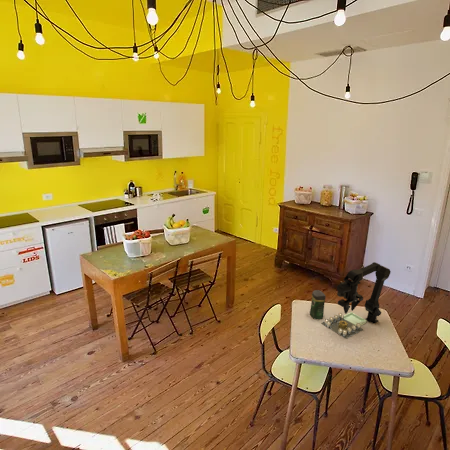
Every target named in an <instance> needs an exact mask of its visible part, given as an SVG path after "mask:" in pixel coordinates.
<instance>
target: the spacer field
mask: <svg viewBox="0 0 450 450" xmlns="http://www.w3.org/2000/svg"><path fill="white" fill-rule="evenodd" d="M340 321H345V322H346V323H348V326H347V328H344V329H343V328H341V327H340V326H338V325H339V322H340ZM320 324H321V325H323V326H324V327H326V328H327V329H329V330H331V331H332V332H334V333H336V334H338V335H339V336H340V337H342V338H343V339H345V340H347V339H349V338H352V337H354V336H355V335H358V334H359V333H361V332H362V331H364V329H362V328H361V326H360V323H357V324H356V325H354V324H352V323H351V322H349V321H347V320H345V319H344V318H343V313H342V312H339V313H338V314H333V316H330V317H329V319H328V318H325V319H324V321H323V322H321V323H320Z"/></svg>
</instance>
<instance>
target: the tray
mask: <svg viewBox="0 0 450 450" xmlns="http://www.w3.org/2000/svg"><path fill="white" fill-rule="evenodd" d="M342 318H344V319H345V320H347V321H349V322H351V323H352V324H354V325H356V324H357V323H360V327H361V326H363V325H364V324H367V322H368V321H367V320H365V319H366V318H364V317H362V316H360V315H358V314H356V313H354V312H352V311H351V312H347V314H344V315H342Z"/></svg>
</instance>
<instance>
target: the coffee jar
mask: <svg viewBox="0 0 450 450" xmlns="http://www.w3.org/2000/svg"><path fill="white" fill-rule="evenodd" d="M326 297H327V296H326V295H325V293H324V292H323V291H321V290H319V289H315V290H313V291H312V293H311V303H310V309H309V315H310V316H311V318H312V319H314V320H323V318H324V313H325V303H326Z"/></svg>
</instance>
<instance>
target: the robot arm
mask: <svg viewBox="0 0 450 450" xmlns="http://www.w3.org/2000/svg"><path fill="white" fill-rule="evenodd" d="M374 272H375V273H374ZM373 273H374V274H375V277H376V278H375V281H374V286H373V288H372V292H371V296H370V297H369V299H366V300H365V303H364V309H365V311H366V312H368V313H367V317H366V318H364V319H365V320H367V322H368V323H371V324H373V325H374V324H376V323H378V322H379V320H378V317H380V316H381V314H382V311H381V310H380V303H379V301H380V300H379V299H380V296H381V294H382V293H381V292H382V290H383V286H384V285H385V281H386V280H388V279H389V278H390V275H391V273H392V272H391V270H390V269H389V268H388V267H386V266H383V265H382V264H380V263H378V262H372V263H371V264H368V265H366V266H364V267H362V268H360V269H350V270H349V271H348V272H347V274H346V275H345V277H344V278H343V282H341V281H340V282H339V284H337V285H336V289H337V293H336V295H337V296H338V297H339V298H341V297H343V298H342V299H339V300H337V305H339V306H340V307H343V312H344V315H346V314H348V313H349V310H350V311H351V312H352V311H354V310H355V309H356V308H357V306H358V305H359V304H360V303H361V302H362V301H363V300H364V296H363V295H361V294H359V292H358V288H359V287H358V285H360V284H361V281H362V280H363V278H364V277H366V276H368V275H370V274H373ZM350 303H351V304H350Z"/></svg>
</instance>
